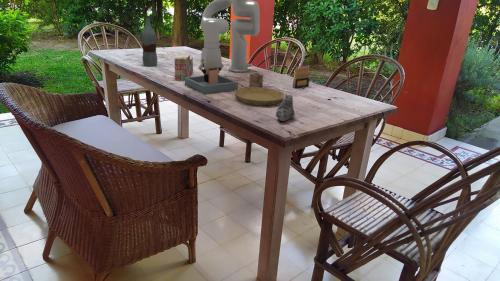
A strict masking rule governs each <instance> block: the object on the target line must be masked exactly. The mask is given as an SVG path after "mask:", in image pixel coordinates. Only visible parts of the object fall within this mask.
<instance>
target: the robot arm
mask: <svg viewBox="0 0 500 281" xmlns="http://www.w3.org/2000/svg"><path fill="white" fill-rule="evenodd" d="M259 4H260V3H259V2H257V1H255V0H212V1H211V2H210V3H209V4H208V5H207V6H206V7H205V9H204V10H203V13H202V17H201V20H200V21H201V22H200V29H201V31H202V32H203V47H202V49H201V53H200V54H201V55H200V65H199V66H198V68H197V69H198V70H199V71H201V73H202V74H203V76H204V81H205V82H209V75H208V71H209V69H213V68H214V69H217V70H218V75H220V72H221V71H222V70H223V68H224V67H225V66H224V64H223V62H222V53H221V48H220V46H221V45H222V43H221V42H220V35H225V34H227V33H228V31H229V29H230V30H231V31H230V32H231V60H230V64H231V66H230V67H228V71H230V72H235V73H247V72H249V68H250V67H253V63H247V61H248V60H247V59H248V58H247V56H248V40H247V38H246V37H245V36H252V37H255V36H258V35H259V33H260V26H261V25H260V24H261V22H260V21H261V20H260V15H261V12H260V5H259ZM231 6H232V14H233V15H234V16H235V18H234V19H232V20H231V23H230V24H229V22H228V20H226V19H224V18H217V17H213V15H214V14H215V13H217V12H220V11H223V10H225V9H228V8H229V7H231ZM236 17H237V18H236Z"/></svg>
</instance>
